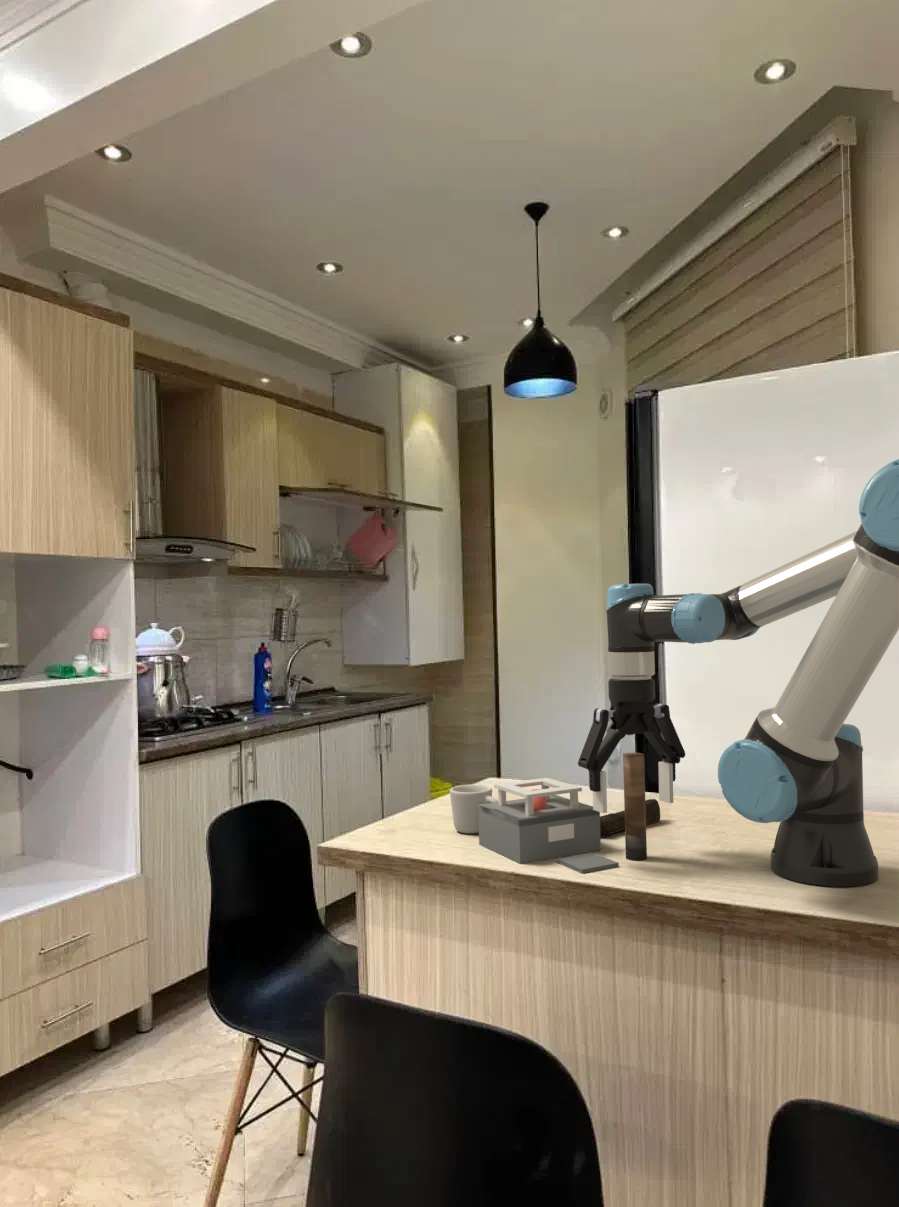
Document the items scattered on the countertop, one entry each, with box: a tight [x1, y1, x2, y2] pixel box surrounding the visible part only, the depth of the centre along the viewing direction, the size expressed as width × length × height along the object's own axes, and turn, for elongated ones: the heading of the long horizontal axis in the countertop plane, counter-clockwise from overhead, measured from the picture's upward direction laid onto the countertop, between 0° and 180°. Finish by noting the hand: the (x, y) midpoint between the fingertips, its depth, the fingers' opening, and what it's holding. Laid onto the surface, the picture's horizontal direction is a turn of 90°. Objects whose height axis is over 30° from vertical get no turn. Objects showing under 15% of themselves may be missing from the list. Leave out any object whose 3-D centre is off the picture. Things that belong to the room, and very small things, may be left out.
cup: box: [449, 784, 499, 835], centre depth 164 cm, size 11×8×8 cm
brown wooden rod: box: [622, 752, 648, 862], centre depth 144 cm, size 3×3×17 cm
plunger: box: [530, 788, 547, 811], centre depth 152 cm, size 3×3×7 cm
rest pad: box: [556, 852, 620, 874], centre depth 141 cm, size 7×7×1 cm
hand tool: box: [600, 798, 661, 839], centre depth 163 cm, size 19×4×5 cm, turn 127°
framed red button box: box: [478, 777, 602, 865], centre depth 152 cm, size 14×16×11 cm
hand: (633, 806), depth 144 cm, fingers open, 13 cm apart
